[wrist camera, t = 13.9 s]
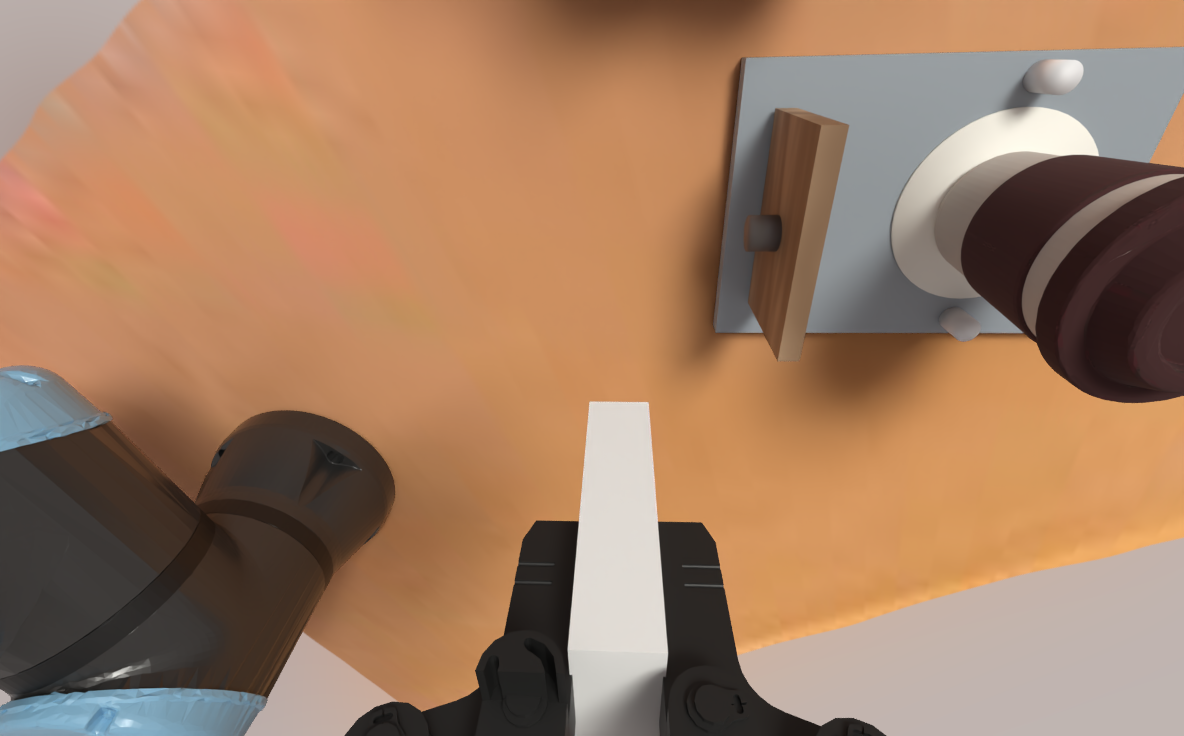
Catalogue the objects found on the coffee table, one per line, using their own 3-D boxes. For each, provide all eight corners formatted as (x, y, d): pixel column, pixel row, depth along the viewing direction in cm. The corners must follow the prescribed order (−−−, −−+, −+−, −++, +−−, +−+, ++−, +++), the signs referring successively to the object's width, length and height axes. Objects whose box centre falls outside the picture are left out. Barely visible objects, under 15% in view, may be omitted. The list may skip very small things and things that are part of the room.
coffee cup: (874, 250, 34) (1028, 373, 21) (994, 92, 29) (1288, 129, 16) (993, 310, 36) (1201, 457, 23) (1125, 170, 31) (1482, 259, 18)
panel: (724, 302, 36) (748, 361, 29) (746, 108, 30) (784, 126, 23) (765, 302, 36) (799, 361, 29) (797, 107, 30) (849, 125, 23)
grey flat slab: (713, 325, 39) (720, 346, 36) (741, 57, 30) (753, 58, 27) (1053, 325, 38) (1087, 347, 35) (1187, 46, 29) (1247, 46, 26)
